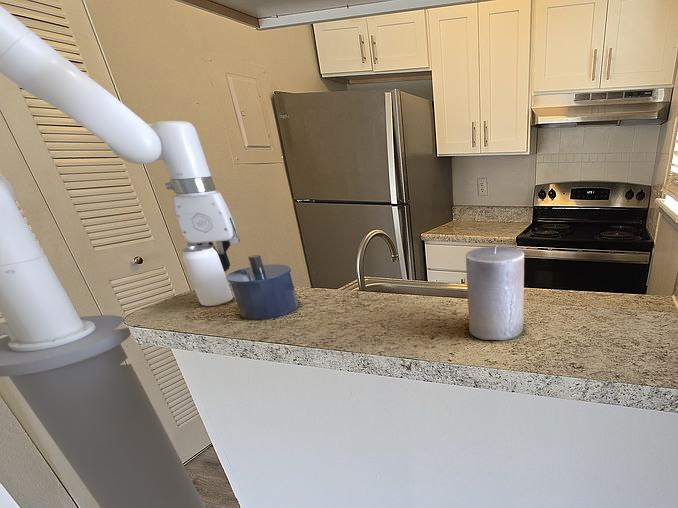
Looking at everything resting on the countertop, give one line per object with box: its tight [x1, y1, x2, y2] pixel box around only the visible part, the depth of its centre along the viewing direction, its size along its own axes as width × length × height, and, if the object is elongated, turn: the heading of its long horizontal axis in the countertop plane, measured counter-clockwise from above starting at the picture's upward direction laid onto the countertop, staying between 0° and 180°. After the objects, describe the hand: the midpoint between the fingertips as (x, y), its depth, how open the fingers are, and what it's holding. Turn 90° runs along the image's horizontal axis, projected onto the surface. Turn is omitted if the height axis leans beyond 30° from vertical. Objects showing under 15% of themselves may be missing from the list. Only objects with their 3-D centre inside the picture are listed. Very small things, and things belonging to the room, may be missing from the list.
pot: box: [229, 272, 299, 321], centre depth 83 cm, size 11×11×8 cm
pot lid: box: [225, 254, 292, 284], centre depth 81 cm, size 12×12×4 cm
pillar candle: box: [465, 244, 525, 341], centre depth 69 cm, size 10×10×15 cm
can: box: [181, 245, 234, 307], centre depth 88 cm, size 6×6×12 cm
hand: (223, 270), depth 96 cm, fingers closed
